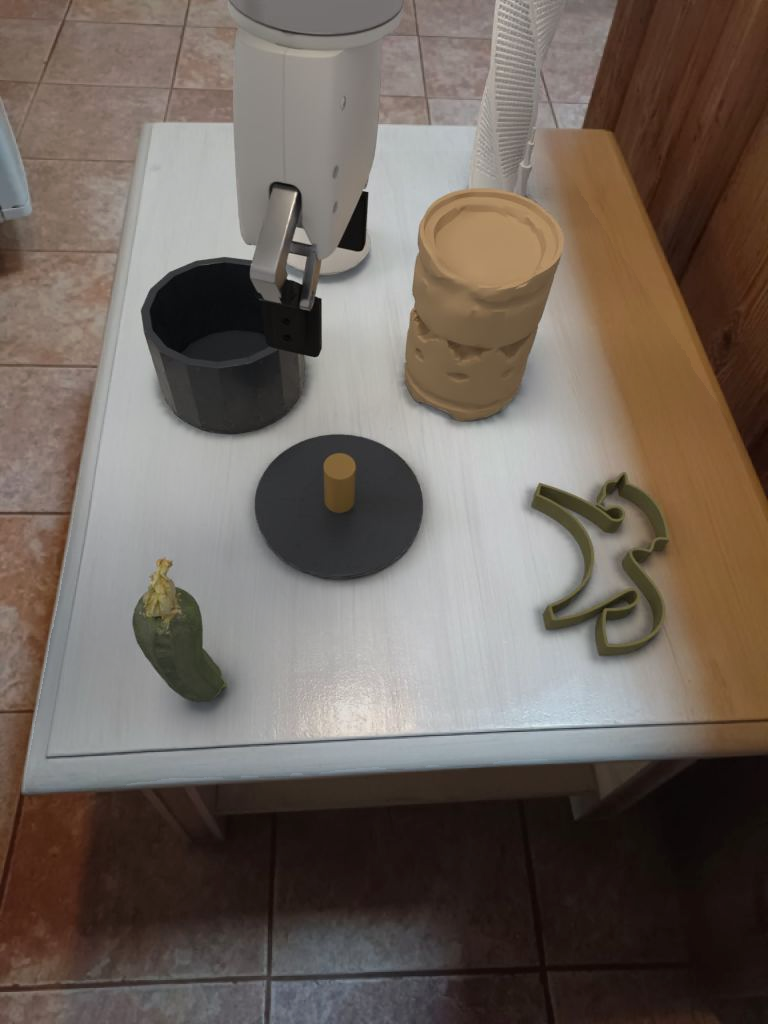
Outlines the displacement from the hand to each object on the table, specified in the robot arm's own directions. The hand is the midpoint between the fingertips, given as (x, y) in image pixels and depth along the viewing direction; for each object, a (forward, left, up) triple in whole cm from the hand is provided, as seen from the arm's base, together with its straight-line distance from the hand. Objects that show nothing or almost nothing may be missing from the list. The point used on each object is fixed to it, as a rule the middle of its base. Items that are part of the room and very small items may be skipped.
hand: (318, 293), depth 44 cm
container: (+23, +3, -27) cm, 36 cm away
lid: (+2, 0, -26) cm, 26 cm away
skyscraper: (+48, +20, -27) cm, 59 cm away
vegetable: (-18, -5, -27) cm, 33 cm away
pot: (+5, +19, -27) cm, 33 cm away
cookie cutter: (+15, -21, -27) cm, 37 cm away
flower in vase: (+25, +27, -27) cm, 46 cm away
